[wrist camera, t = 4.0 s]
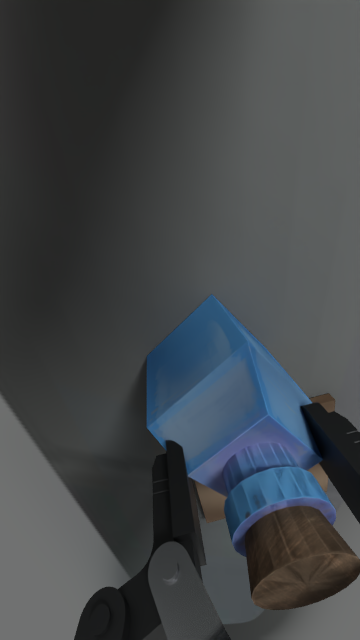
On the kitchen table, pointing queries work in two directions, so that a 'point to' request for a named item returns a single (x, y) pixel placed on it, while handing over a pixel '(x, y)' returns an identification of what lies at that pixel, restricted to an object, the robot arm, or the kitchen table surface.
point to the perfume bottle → (250, 454)
